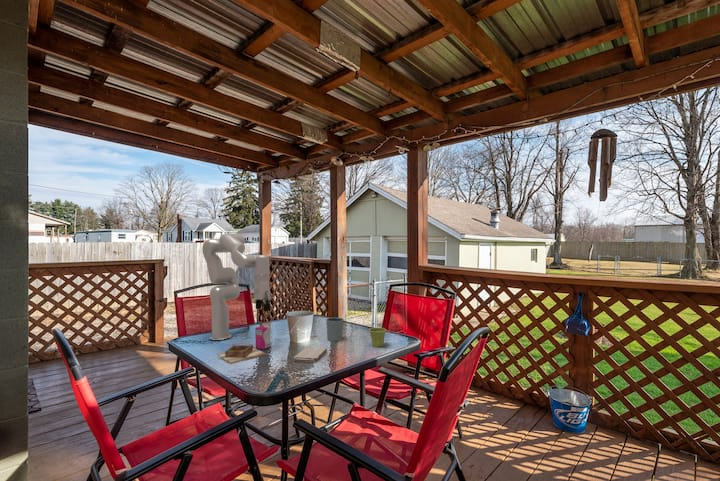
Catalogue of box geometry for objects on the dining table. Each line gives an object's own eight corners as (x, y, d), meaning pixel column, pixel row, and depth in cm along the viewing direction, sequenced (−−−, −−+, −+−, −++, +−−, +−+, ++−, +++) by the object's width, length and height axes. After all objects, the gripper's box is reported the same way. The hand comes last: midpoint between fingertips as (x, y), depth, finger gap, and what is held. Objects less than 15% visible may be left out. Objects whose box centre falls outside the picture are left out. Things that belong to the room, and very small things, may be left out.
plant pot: (380, 349, 179) (380, 332, 179) (365, 346, 185) (365, 330, 185) (389, 345, 187) (389, 329, 187) (375, 342, 192) (375, 326, 193)
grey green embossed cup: (324, 338, 201) (323, 318, 201) (339, 336, 205) (339, 316, 205) (329, 342, 192) (329, 321, 192) (346, 340, 196) (346, 319, 196)
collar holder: (217, 356, 170) (217, 348, 170) (251, 348, 183) (250, 340, 183) (230, 364, 159) (230, 355, 159) (265, 355, 171) (265, 347, 171)
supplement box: (263, 345, 187) (263, 325, 187) (271, 347, 184) (270, 326, 184) (255, 348, 182) (255, 327, 182) (262, 350, 179) (262, 328, 179)
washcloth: (292, 363, 161) (292, 356, 161) (305, 351, 178) (305, 345, 178) (315, 364, 158) (315, 358, 158) (327, 352, 176) (327, 346, 176)
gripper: (248, 277, 187) (249, 308, 186) (262, 279, 174) (263, 313, 173) (261, 276, 192) (262, 306, 191) (276, 278, 179) (276, 311, 178)
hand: (262, 309), depth 182 cm, fingers open, 9 cm apart
